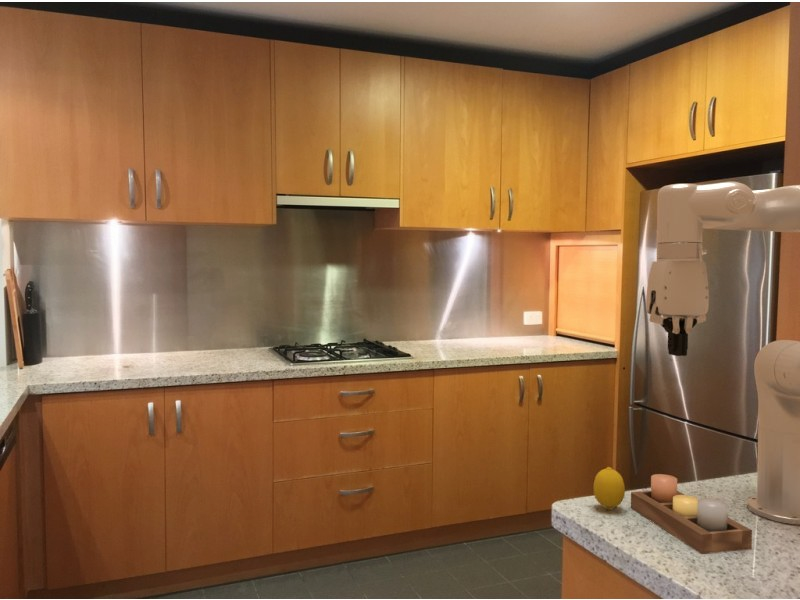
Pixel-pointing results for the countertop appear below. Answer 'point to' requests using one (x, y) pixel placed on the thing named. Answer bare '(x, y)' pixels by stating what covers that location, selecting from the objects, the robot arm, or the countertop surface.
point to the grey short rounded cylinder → (712, 514)
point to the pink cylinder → (663, 488)
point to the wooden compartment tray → (691, 526)
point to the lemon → (609, 488)
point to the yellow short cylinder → (685, 505)
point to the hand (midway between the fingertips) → (677, 354)
